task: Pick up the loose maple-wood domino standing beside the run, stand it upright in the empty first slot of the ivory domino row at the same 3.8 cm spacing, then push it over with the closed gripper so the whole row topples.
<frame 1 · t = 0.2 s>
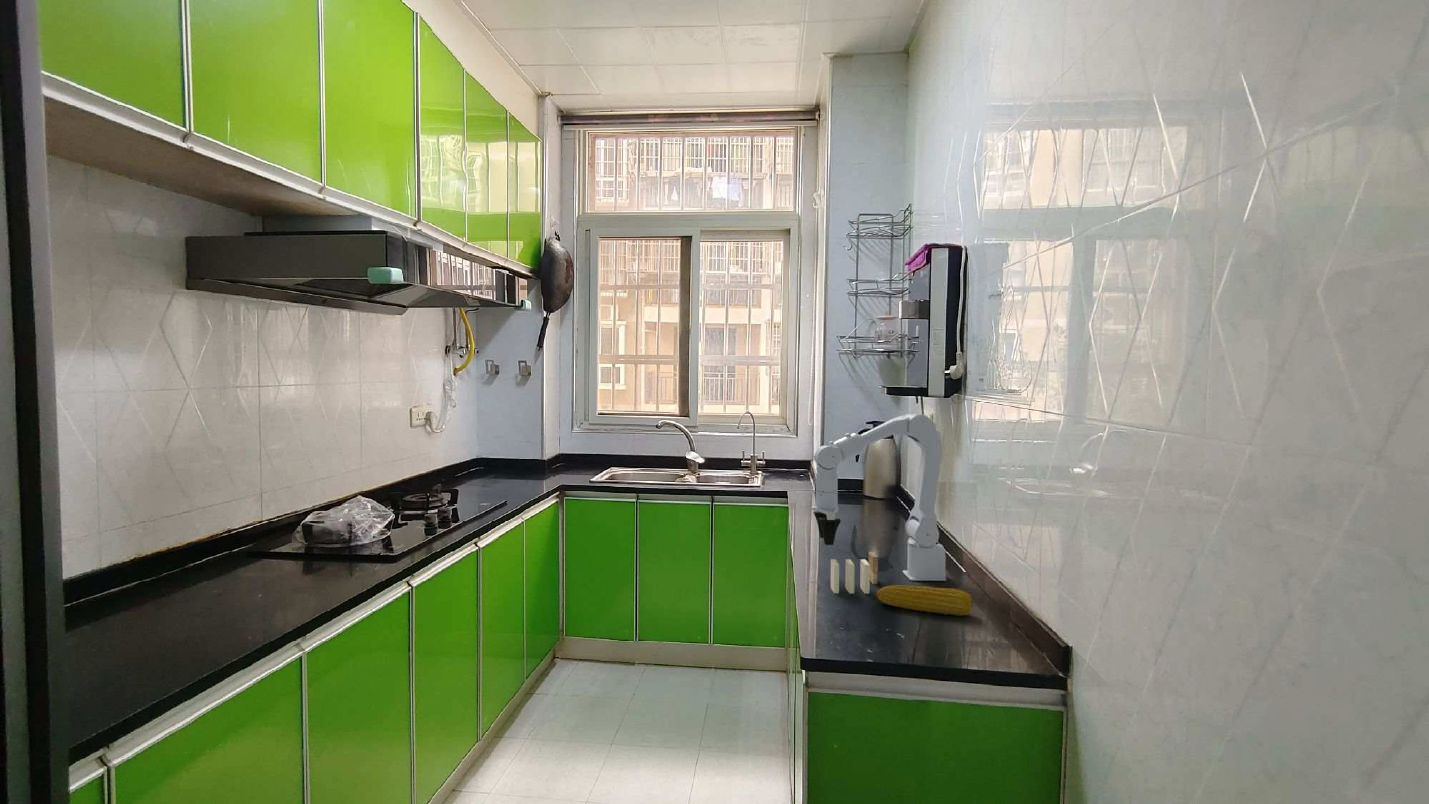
hand: (826, 541, 179), 10 cm above the worktop, tool pointing down, fingers open, 7 cm apart
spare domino: (872, 581, 176), on the worktop
domino 3: (849, 590, 168), on the worktop
food: (924, 612, 154), on the worktop
domino 2: (864, 590, 168), on the worktop
domino 4: (834, 590, 168), on the worktop
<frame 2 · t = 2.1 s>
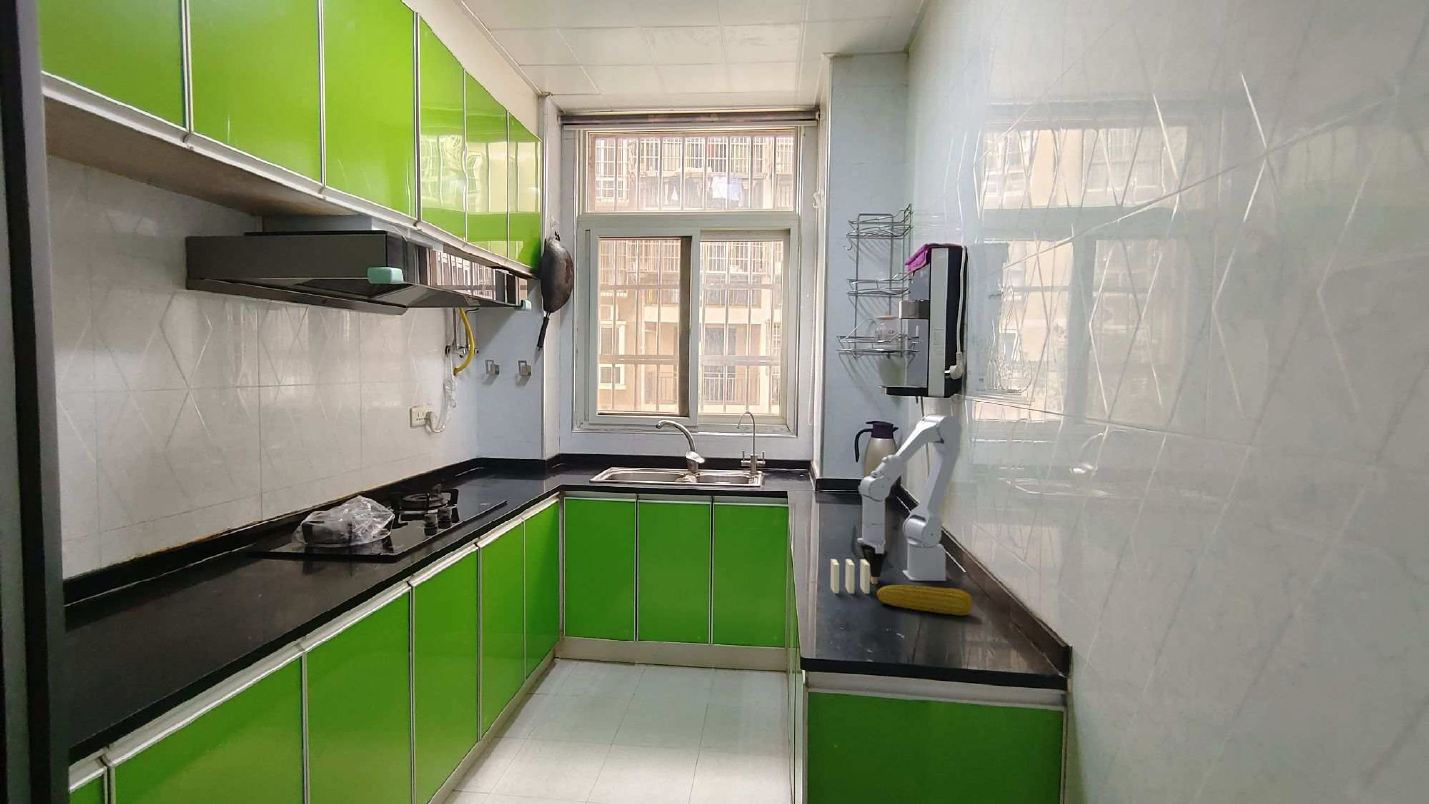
hand: (872, 573, 176), 2 cm above the worktop, tool pointing down, fingers closed on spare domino, 5 cm apart
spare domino: (872, 581, 176), on the worktop, touching gripper
everything else where it was.
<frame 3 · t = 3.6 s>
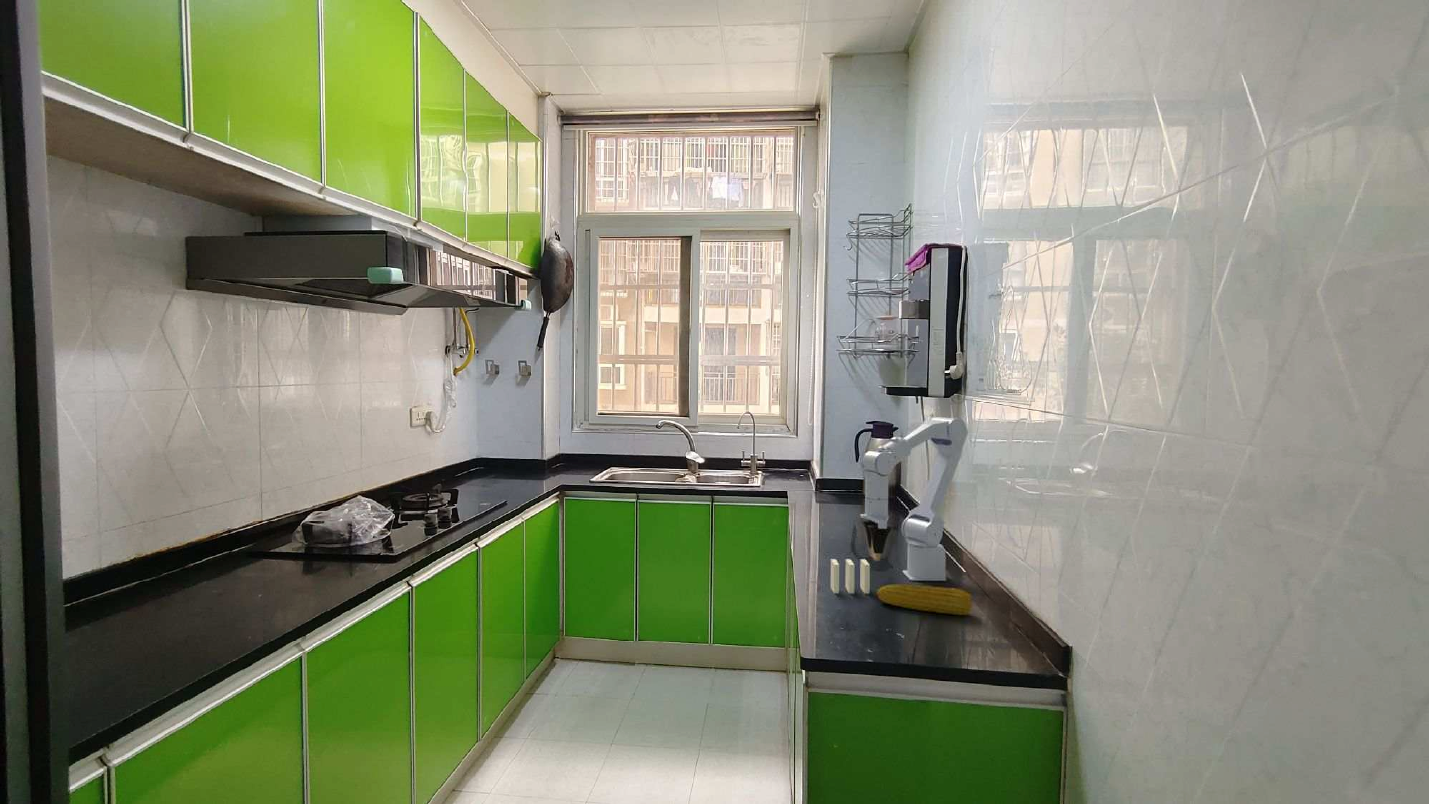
hand: (875, 550, 172), 9 cm above the worktop, tool pointing down, fingers closed on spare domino, 5 cm apart
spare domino: (875, 558, 172), point 7 cm above the worktop, touching gripper
everything else where it was.
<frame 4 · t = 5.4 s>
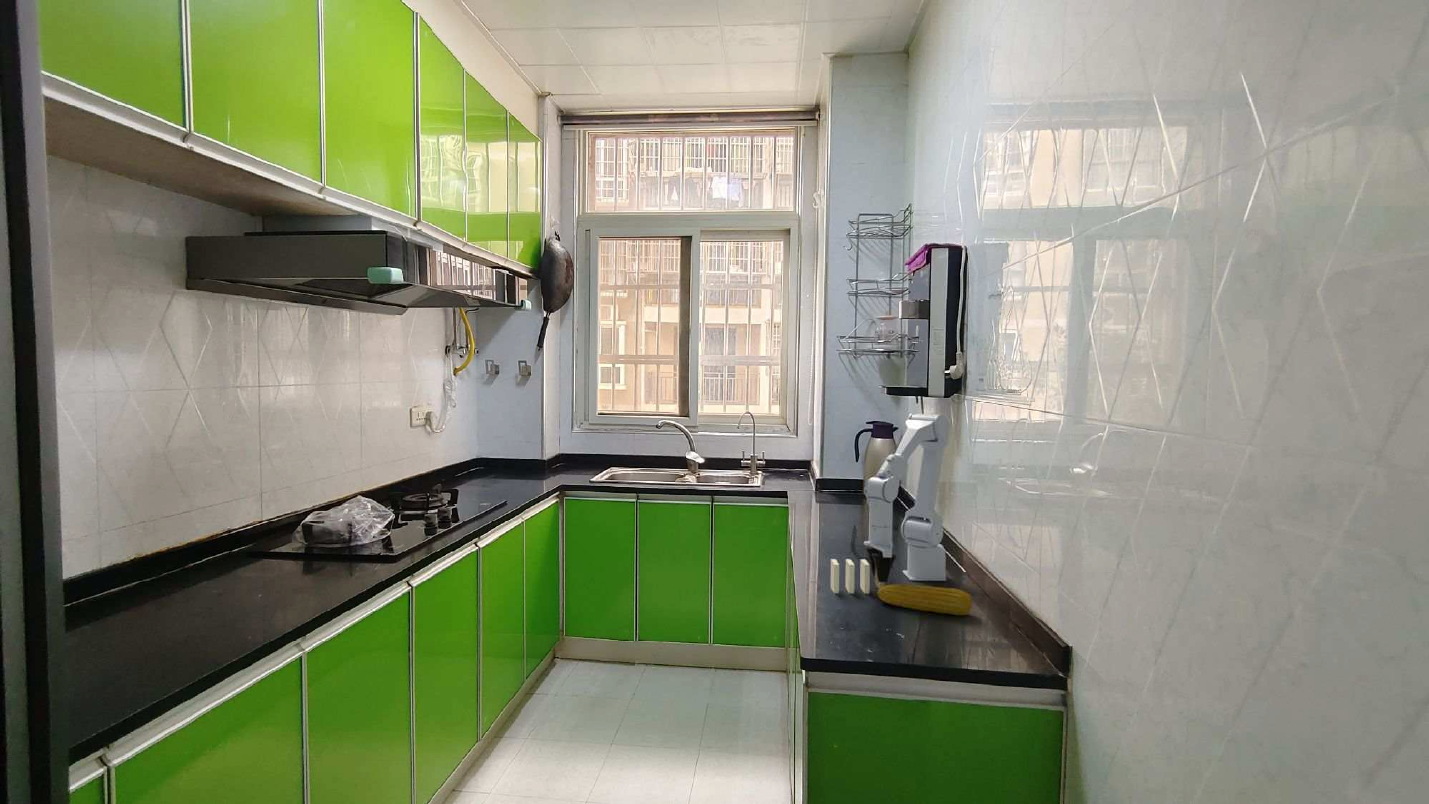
hand: (879, 578, 168), 3 cm above the worktop, tool pointing down, fingers closed on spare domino, 5 cm apart
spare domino: (879, 586, 168), point 1 cm above the worktop, touching gripper
everything else where it was.
when the fingers open (3 cm above the worktop, at t = 5.6 s): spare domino moves 1 cm and tips over, point 1 cm above the worktop.
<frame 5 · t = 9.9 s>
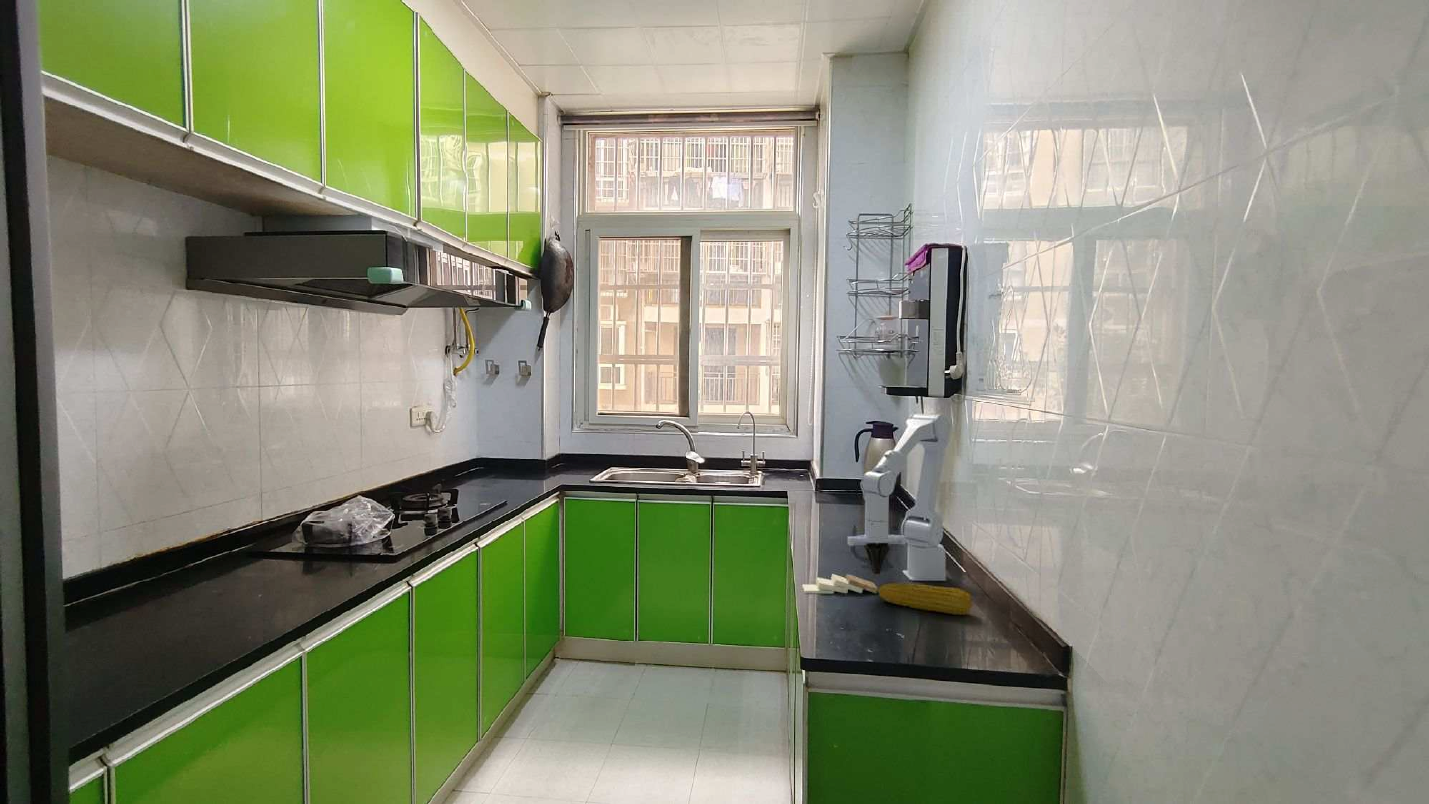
hand: (876, 572, 168), 4 cm above the worktop, tool pointing down, fingers closed
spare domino: (874, 588, 168), point 1 cm above the worktop, tilted 71°
domino 3: (845, 588, 168), point 1 cm above the worktop, tilted 79°, touching domino 2, domino 4
domino 2: (860, 588, 168), point 1 cm above the worktop, tilted 71°, touching domino 3
domino 4: (831, 590, 168), on the worktop, tilted 90°, touching domino 3
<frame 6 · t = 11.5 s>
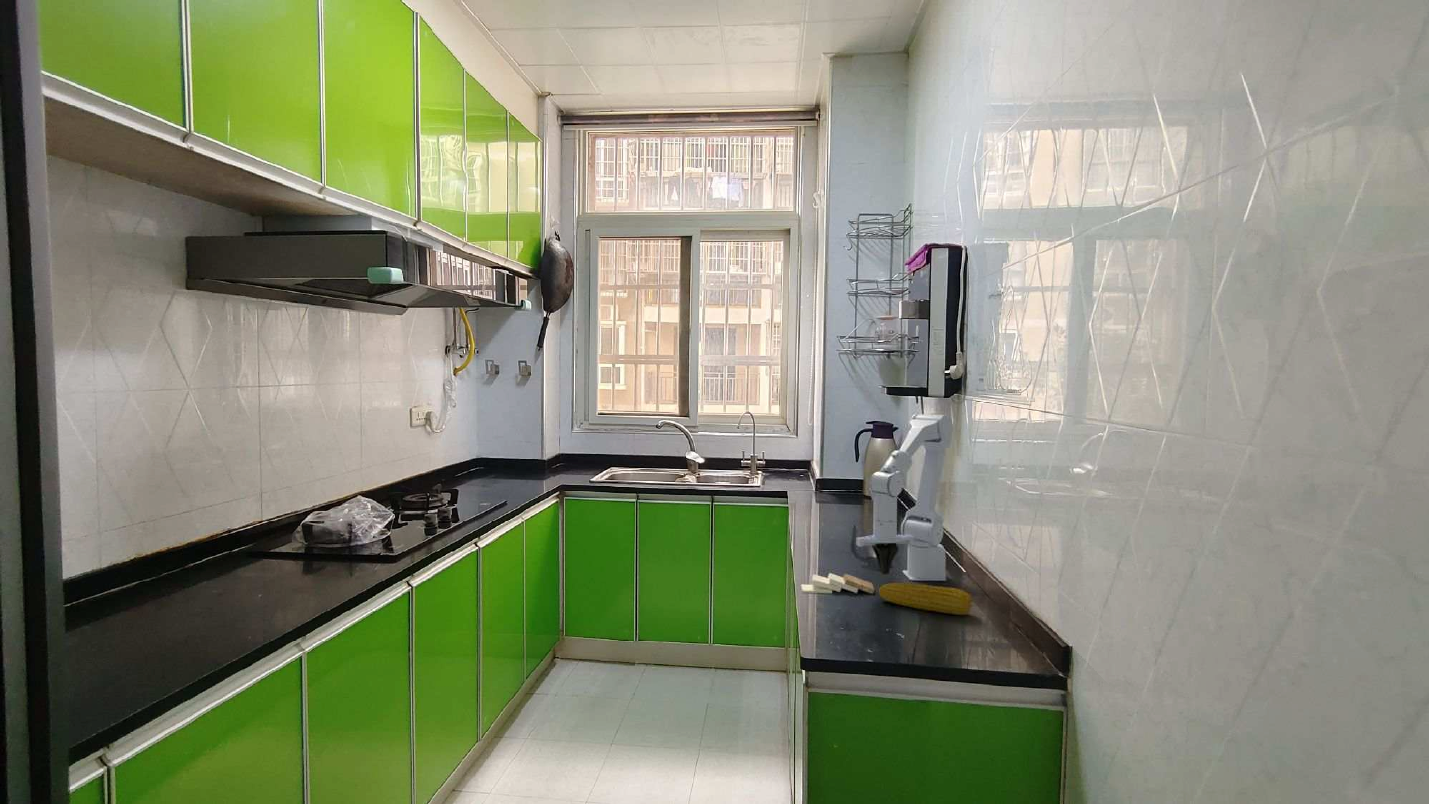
hand: (884, 573, 168), 4 cm above the worktop, tool pointing down, fingers closed
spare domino: (872, 588, 168), point 1 cm above the worktop, tilted 72°, touching domino 2
domino 3: (840, 586, 169), point 1 cm above the worktop, tilted 77°, touching domino 2
domino 2: (856, 587, 169), point 1 cm above the worktop, tilted 72°, touching domino 3, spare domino
domino 4: (830, 590, 168), on the worktop, tilted 90°
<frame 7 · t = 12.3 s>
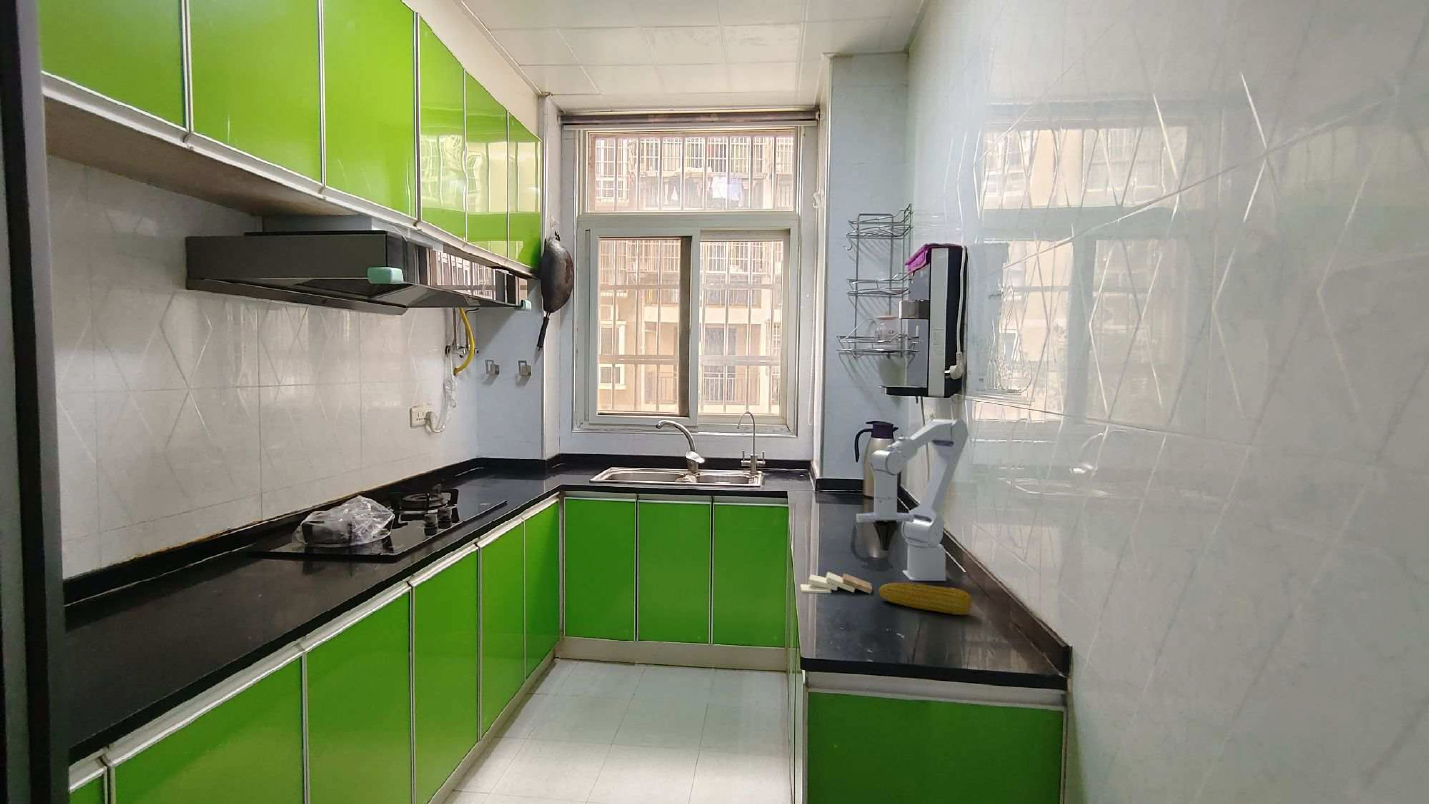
hand: (884, 549, 172), 9 cm above the worktop, tool pointing down, fingers closed
domino 3: (837, 585, 169), point 1 cm above the worktop, tilted 81°
domino 2: (854, 587, 169), point 1 cm above the worktop, tilted 70°, touching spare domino
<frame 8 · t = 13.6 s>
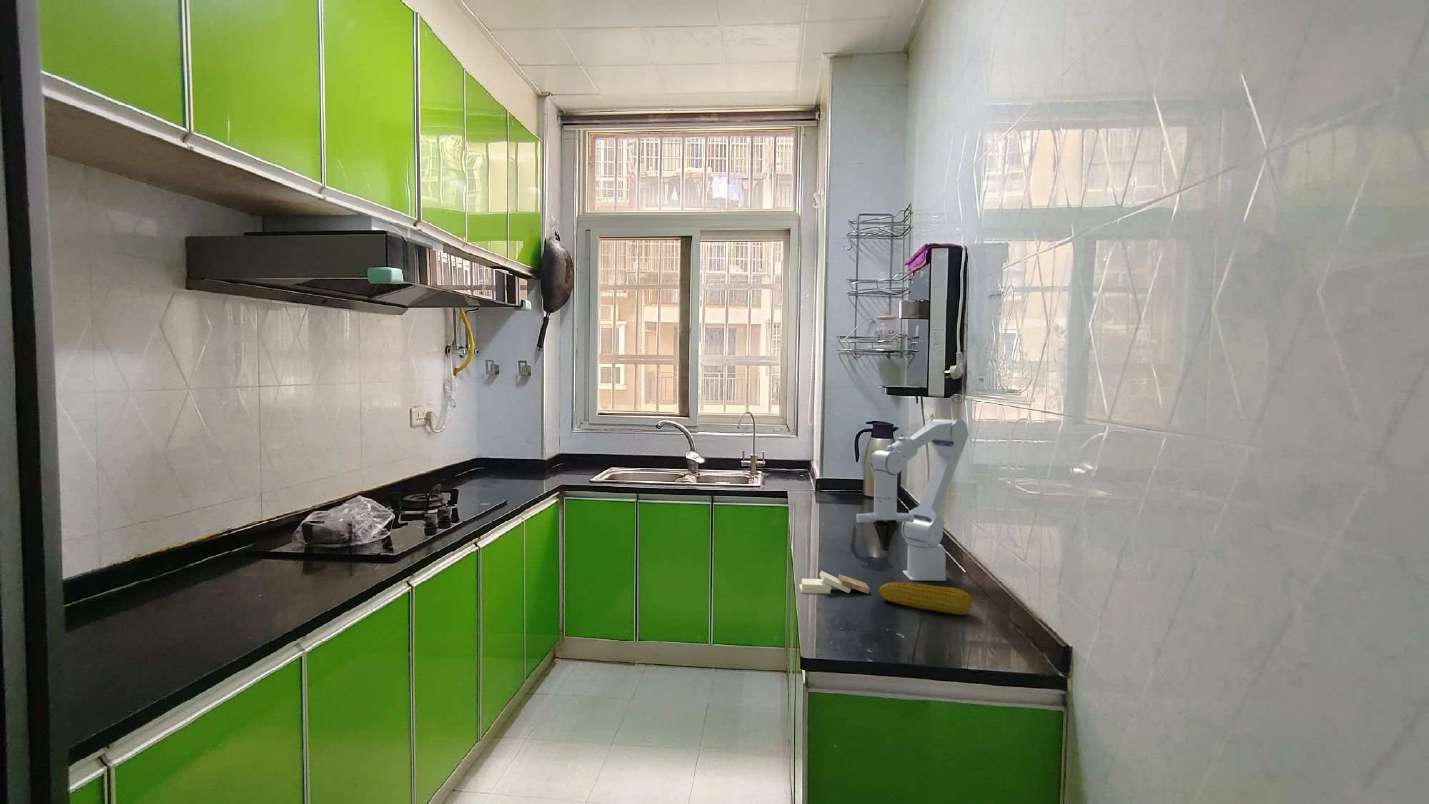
hand: (884, 549, 172), 9 cm above the worktop, tool pointing down, fingers closed
domino 3: (830, 584, 168), point 1 cm above the worktop, tilted 90°, touching domino 4
domino 2: (847, 587, 168), point 1 cm above the worktop, tilted 64°, touching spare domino
domino 4: (828, 589, 168), on the worktop, tilted 90°, touching domino 3
at the end: domino 4 tilted 90°; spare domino 1.8 cm from the target spot, point 0.6 cm above the worktop; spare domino tilted 71° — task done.
